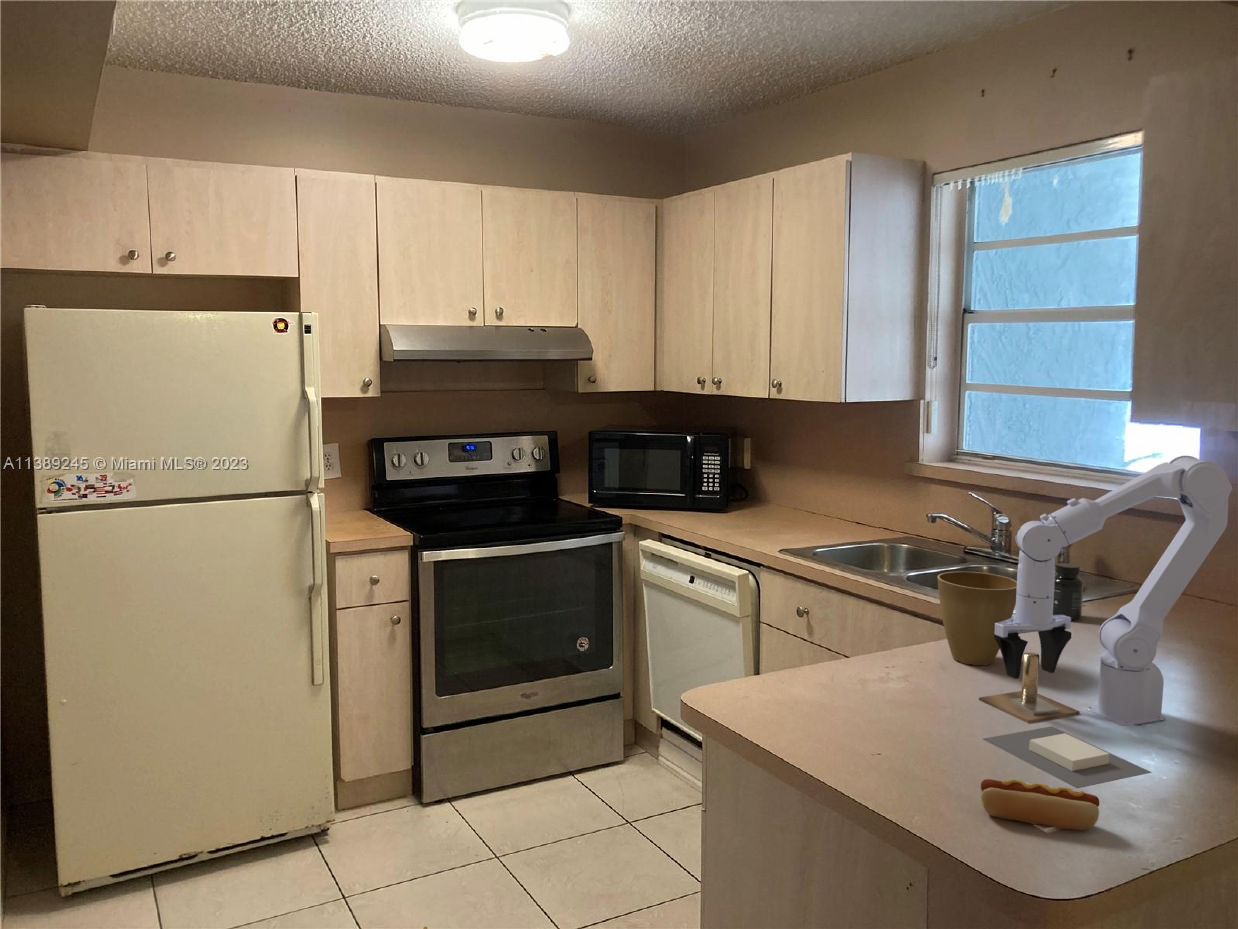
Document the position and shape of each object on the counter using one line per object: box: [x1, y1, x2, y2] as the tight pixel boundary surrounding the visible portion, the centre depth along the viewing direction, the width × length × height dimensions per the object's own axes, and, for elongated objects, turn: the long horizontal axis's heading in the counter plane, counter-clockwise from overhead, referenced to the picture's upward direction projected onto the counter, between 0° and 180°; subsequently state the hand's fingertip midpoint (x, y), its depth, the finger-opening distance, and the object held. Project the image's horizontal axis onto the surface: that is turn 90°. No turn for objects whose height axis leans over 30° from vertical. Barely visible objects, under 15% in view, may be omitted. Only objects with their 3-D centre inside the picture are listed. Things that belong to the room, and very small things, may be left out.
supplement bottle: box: [1053, 562, 1084, 622], centre depth 219 cm, size 7×7×12 cm
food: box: [980, 778, 1100, 831], centre depth 124 cm, size 14×6×5 cm, turn 70°
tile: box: [1029, 732, 1110, 771], centre depth 142 cm, size 7×2×8 cm
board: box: [978, 690, 1081, 724], centre depth 163 cm, size 11×11×1 cm
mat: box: [982, 726, 1152, 789], centre depth 143 cm, size 14×18×1 cm
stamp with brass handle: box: [1010, 651, 1060, 716], centre depth 161 cm, size 6×5×9 cm
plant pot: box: [937, 571, 1017, 666], centre depth 188 cm, size 15×15×16 cm
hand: (1030, 674), depth 162 cm, fingers open, 7 cm apart
